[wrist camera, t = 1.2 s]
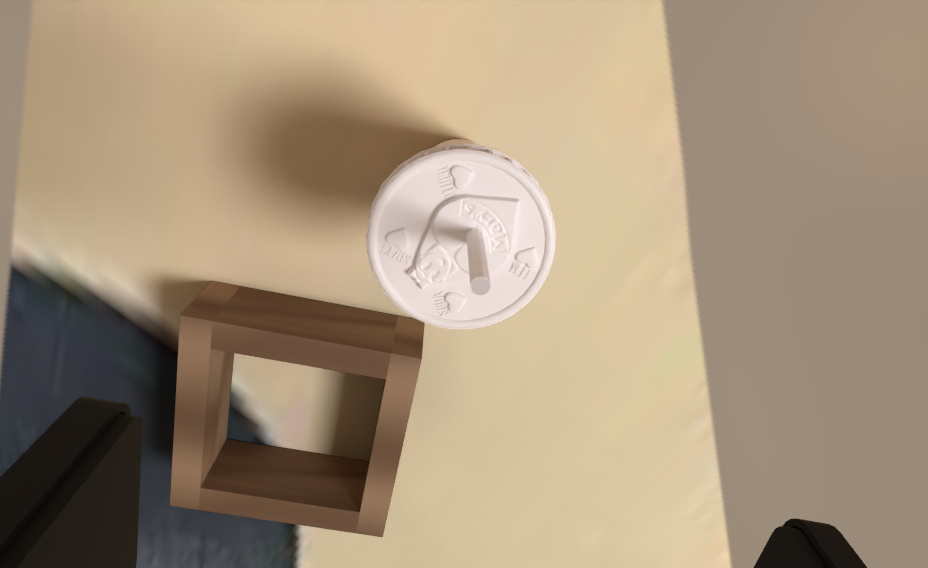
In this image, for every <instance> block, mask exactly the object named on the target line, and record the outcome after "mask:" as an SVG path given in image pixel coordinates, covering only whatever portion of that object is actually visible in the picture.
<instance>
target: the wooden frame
mask: <svg viewBox="0 0 928 568" xmlns="http://www.w3.org/2000/svg"><path fill="white" fill-rule="evenodd" d="M423 335H424V322H422V321H420V320H417V319H413V318H408V317H402V316H397V315H392V314H386V313H381V312H376V311H370V310H365V309H359V308H354V307H349V306H343V305H338V304H333V303H327V302H322V301H316V300H311V299H306V298H300V297H295V296H289V295H284V294H279V293H273V292H268V291H263V290H257V289H252V288H246V287H241V286H236V285H230V284H225V283H220V282H214V281H211V282H210V283H209V285H208V286H207V287H206V288H205V289H204V290H203V291H202V292H201V293H200V294H199V295H198V297H197V298H196V299H195V300H194V301H193V302H192V303H191V304H190V305H189V306H188V307H187V308H186V310H185V311H184V312H183V313H182V314H181V315H180V326H179V345H178V364H177V383H176V403H175V422H174V441H173V460H172V479H171V498H170V506H177V507H183V508H190V509H197V510H204V511H210V512H217V513H224V514H230V515H237V516H244V517H250V518H257V519H264V520H271V521H277V522H284V523H291V524H297V525H304V526H311V527H318V528H324V529H331V530H338V531H344V532H351V533H358V534H365V535H371V536H378V537H383V533H384V528H385V524H386V519H387V514H388V510H389V505H390V501H391V496H392V492H393V487H394V483H395V478H396V473H397V469H398V464H399V460H400V455H401V451H402V446H403V441H404V437H405V432H406V428H407V423H408V419H409V414H410V409H411V405H412V400H413V396H414V391H415V387H416V382H417V378H418V373H419V368H420V364H421V359H422V348H423ZM234 353H238V354H243V355H249V356H255V357H260V358H266V359H272V360H278V361H283V362H289V363H295V364H300V365H306V366H312V367H318V368H323V369H329V370H335V371H340V372H346V373H352V374H358V375H363V376H369V377H375V378H380V379H385V384H384V389H383V394H382V399H381V404H380V409H379V414H378V419H377V424H376V429H375V434H374V439H373V444H372V449H371V455H370V460H369V462H367V461H360V460H354V459H348V458H342V457H336V456H329V455H323V454H317V453H311V452H304V451H298V450H292V449H286V448H280V447H273V446H267V445H261V444H255V443H249V442H242V441H236V440H230V439H226V437H227V426H228V415H229V404H230V393H231V382H232V371H233V360H234Z"/></svg>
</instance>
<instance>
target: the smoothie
mask: <svg viewBox="0 0 928 568" xmlns="http://www.w3.org/2000/svg"><path fill="white" fill-rule="evenodd" d="M366 245H367V254H368V259H369V263H370V266H371V269H372V272H373V274H374V276H375V279H376V280H377V282H378V284H379V286H380V287H381V289H382V290H383V291H384V293H385V294H386V295H387V296H388V298H389V299H390V300H391V301H392V302H393V303H394V304H395V305H396V306H398V307H399V308H400V309H401V310H403V311H404V312H405V313H407V314H409V315H410V316H412V317H414V318H416V319H417V320H420V321H422V322H424V323H427V324H430V325H433V326H437V327H441V328H448V329H473V328H480V327H484V326H488V325H491V324H494V323H497V322H499V321H502V320H504V319H506V318H508V317H509V316H511V315H513V314H514V313H516V312H517V311H519V310H520V309H521V308H522V307H524V306H525V305H526V304H527V303H528V302H529V301H530V300H531V299H532V298H533V297H534V296H535V295H536V293H537V292H538V291H539V289H540V288H541V287H542V285H543V283H544V281H545V280H546V278H547V276H548V273H549V271H550V268H551V265H552V262H553V258H554V254H555V246H556V233H555V224H554V219H553V216H552V212H551V209H550V206H549V202H548V199H547V197H546V196H545V194H544V192H543V190H542V189H541V187H540V185H539V183H538V182H537V180H536V178H535V177H534V176H533V175H531V174H530V173H529V172H528V171H527V170H526V169H525V168H524V167H523V166H522V165H521V164H520V163H519V162H518V161H516V160H515V159H513V158H511V157H509V156H507V155H506V154H504V153H502V152H500V151H498V150H496V149H493V148H489V147H485V146H480V145H477V144H476V143H474V142H471V141H468V140H463V139H452V140H447V141H444V142H442V143H439V144H438V145H436V146H435V147H433V148H430V149H427V150H424V151H420V152H419V153H417V154H416V155H414V156H413V157H411V158H409V159H408V160H406V161H405V162H403V163H401V164H400V165H399V166H398V167H397V168H396V169H395V170H394V171H393V172H392V173H391V174H390V175H389V176H388V178H387V179H386V180H385V181H384V182H383V183H382V185H381V187H380V189H379V191H378V193H377V195H376V197H375V199H374V201H373V203H372V205H371V210H370V215H369V220H368V225H367V235H366Z"/></svg>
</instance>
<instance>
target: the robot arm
mask: <svg viewBox="0 0 928 568" xmlns="http://www.w3.org/2000/svg"><path fill="white" fill-rule="evenodd" d="M141 440H142V421H141V418H139V417H135V416H131V414H130V408H129V406H128V405H127V404H125V403H119V402H113V401H107V400H101V399H96V398H90V397H80V398H79V399H77V400H76V401H75V402H74V403H73V404H72V405H71V406H70V407H69V408H68V409H67V410H66V411H65V412H64V413H63V414H62V415H61V416H60V417H59V418H58V419H57V420H56V421H55V422H54V423H53V424H52V425H51V426H50V427H49V428H48V429H47V430H46V431H45V432H44V433H43V434H42V435H41V436H40V437H39V438H38V439H37V440H36V441H35V443H34V444H33V445H32V446H31V447H30V448H29V449H28V450H27V451H26V452H25V453H24V454H23V455H22V456H21V457H20V458H19V459H18V460H17V461H16V462H15V463H14V464H13V465H12V466H11V467H10V468H9V469H8V470H7V471H6V472H5V473H4V474H3V475H2V476H1V477H0V568H136V561H137V539H138V514H139V490H140V465H141ZM754 568H867V567H866V565H865V564H864V563H863V561H862V560H861V559H860V558H859V556H858V555H857V554H856V552H855V551H854V550H853V548H852V547H851V546H850V545H849V543H848V542H847V541H846V539H845V538H844V537H843V535H842V534H841V533H840V532H839V531H838V530H837V529H836V528H835V527H834V526H831V525H829V524H825V523H819V522H813V521H807V520H801V519H790V520H788V521H786V522H785V524H784V525H783V526H782V527H778V528H776V529H775V530H774V532H773V533H772V535H771V537H770V538H769V540H768V542H767V544H766V546H765V548H764V549H763V552H762V553H761V555H760V557H759V559H758V561H757V562H756V565H755V566H754Z"/></svg>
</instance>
